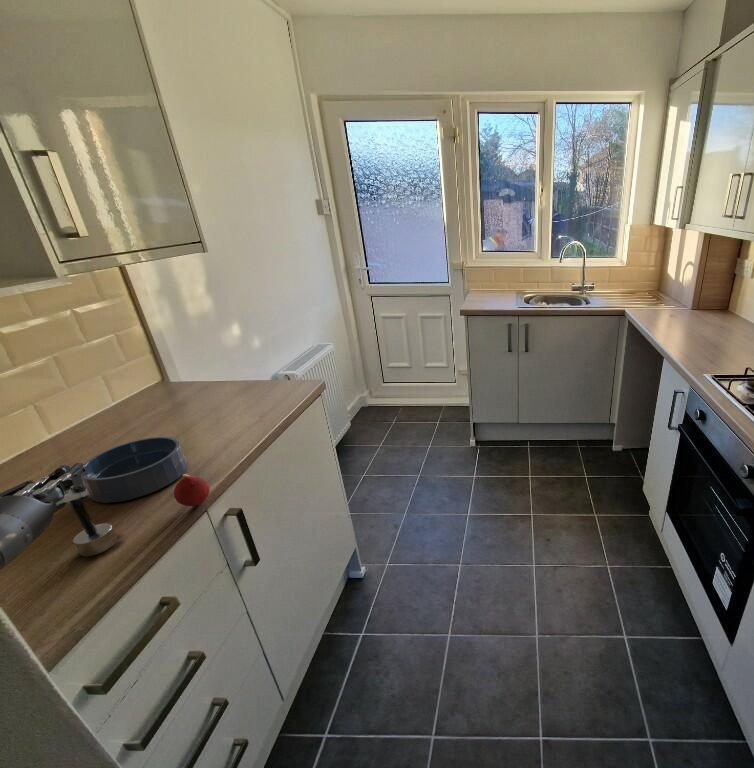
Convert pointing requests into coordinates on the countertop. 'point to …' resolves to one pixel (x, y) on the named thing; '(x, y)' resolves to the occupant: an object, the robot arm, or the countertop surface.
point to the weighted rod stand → (90, 529)
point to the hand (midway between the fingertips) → (74, 468)
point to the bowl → (134, 469)
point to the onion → (191, 490)
